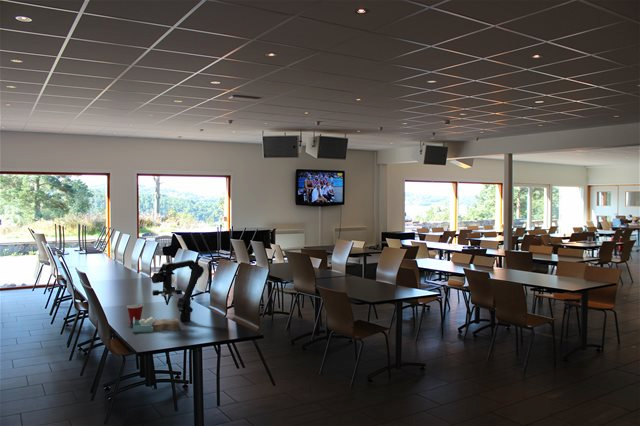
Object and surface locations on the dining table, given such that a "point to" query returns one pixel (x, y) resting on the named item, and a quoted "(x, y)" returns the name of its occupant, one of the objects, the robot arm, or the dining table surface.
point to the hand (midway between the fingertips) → (167, 305)
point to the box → (141, 327)
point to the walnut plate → (165, 324)
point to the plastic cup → (135, 311)
